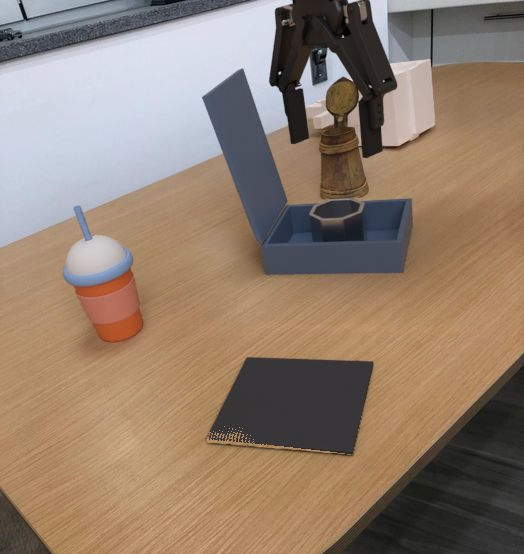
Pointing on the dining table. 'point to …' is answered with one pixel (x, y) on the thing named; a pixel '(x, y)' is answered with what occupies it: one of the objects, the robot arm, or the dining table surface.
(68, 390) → the dining table surface
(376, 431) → the dining table surface
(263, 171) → the lid
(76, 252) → the cup with straw
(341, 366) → the mat
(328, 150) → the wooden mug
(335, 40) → the robot arm
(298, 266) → the blue storage box
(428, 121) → the blocky voxel creature
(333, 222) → the octagonal metal cup
